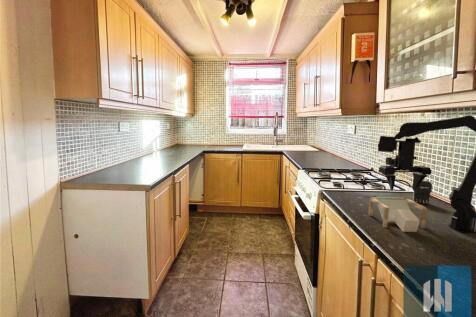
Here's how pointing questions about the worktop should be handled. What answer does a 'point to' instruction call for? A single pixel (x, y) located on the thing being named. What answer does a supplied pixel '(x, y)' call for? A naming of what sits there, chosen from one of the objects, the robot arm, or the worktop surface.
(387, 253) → the worktop surface
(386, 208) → the frame
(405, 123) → the robot arm
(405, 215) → the stone block
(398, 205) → the trapdoor
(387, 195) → the disk drive
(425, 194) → the battery charger
